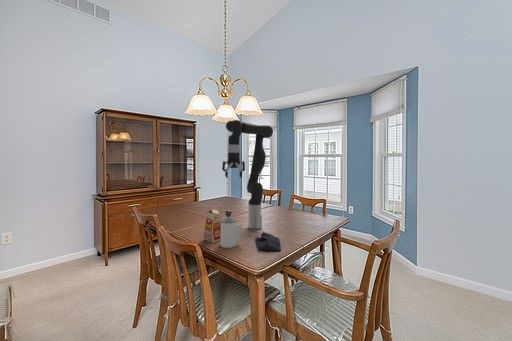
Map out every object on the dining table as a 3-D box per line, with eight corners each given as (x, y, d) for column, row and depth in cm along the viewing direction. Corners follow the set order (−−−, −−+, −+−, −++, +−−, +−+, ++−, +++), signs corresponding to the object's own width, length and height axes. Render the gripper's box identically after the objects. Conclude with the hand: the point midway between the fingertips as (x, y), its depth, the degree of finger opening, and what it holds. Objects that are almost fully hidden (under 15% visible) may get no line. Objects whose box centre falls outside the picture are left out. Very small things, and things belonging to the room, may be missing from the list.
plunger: (230, 236, 141) (231, 209, 140) (231, 238, 138) (232, 210, 137) (224, 237, 140) (225, 209, 140) (225, 239, 137) (225, 211, 136)
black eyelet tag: (254, 252, 130) (254, 243, 130) (255, 238, 152) (255, 231, 152) (282, 252, 130) (282, 244, 130) (279, 239, 152) (279, 231, 152)
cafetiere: (239, 241, 146) (239, 217, 145) (242, 246, 137) (242, 221, 136) (219, 242, 143) (219, 217, 142) (221, 248, 134) (221, 222, 133)
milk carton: (213, 242, 143) (213, 209, 142) (202, 239, 148) (202, 207, 147) (223, 238, 151) (223, 206, 149) (212, 235, 155) (212, 205, 154)
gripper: (243, 152, 157) (243, 176, 158) (221, 152, 154) (221, 177, 155) (245, 152, 150) (245, 178, 151) (223, 151, 147) (223, 178, 148)
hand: (233, 177), depth 153 cm, fingers open, 8 cm apart
